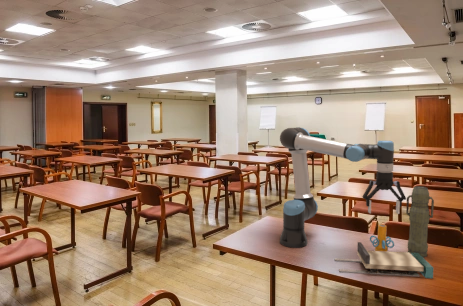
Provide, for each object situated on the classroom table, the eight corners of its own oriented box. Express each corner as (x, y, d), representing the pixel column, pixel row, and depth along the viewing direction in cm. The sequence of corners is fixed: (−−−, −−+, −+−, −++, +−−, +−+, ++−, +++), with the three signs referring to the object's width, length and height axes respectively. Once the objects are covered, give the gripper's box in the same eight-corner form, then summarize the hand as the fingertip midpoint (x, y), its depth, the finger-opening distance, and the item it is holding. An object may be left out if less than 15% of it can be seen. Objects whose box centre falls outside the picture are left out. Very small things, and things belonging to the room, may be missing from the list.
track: (339, 273, 149) (340, 262, 149) (334, 258, 165) (334, 248, 165) (432, 278, 144) (433, 267, 143) (417, 262, 160) (418, 252, 159)
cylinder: (395, 259, 163) (396, 230, 162) (373, 258, 166) (374, 228, 164) (389, 250, 175) (390, 222, 174) (368, 248, 177) (369, 221, 176)
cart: (365, 272, 148) (366, 255, 147) (357, 258, 163) (357, 242, 163) (423, 276, 144) (424, 258, 144) (408, 260, 160) (409, 244, 159)
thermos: (403, 249, 176) (406, 184, 173) (428, 252, 172) (432, 186, 168) (405, 255, 168) (408, 187, 165) (431, 259, 164) (435, 189, 160)
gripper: (360, 172, 164) (359, 214, 166) (414, 172, 161) (412, 215, 163) (357, 170, 172) (356, 210, 174) (408, 170, 168) (406, 211, 170)
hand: (383, 212), depth 168 cm, fingers open, 13 cm apart
